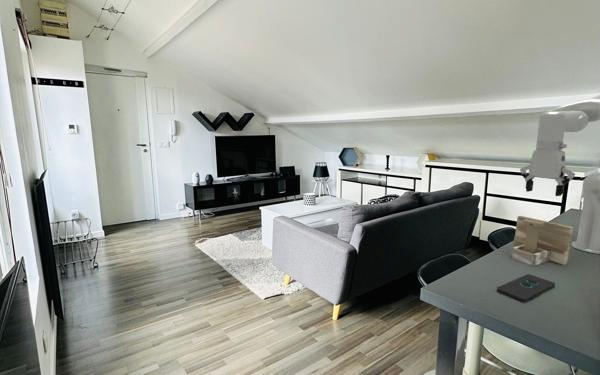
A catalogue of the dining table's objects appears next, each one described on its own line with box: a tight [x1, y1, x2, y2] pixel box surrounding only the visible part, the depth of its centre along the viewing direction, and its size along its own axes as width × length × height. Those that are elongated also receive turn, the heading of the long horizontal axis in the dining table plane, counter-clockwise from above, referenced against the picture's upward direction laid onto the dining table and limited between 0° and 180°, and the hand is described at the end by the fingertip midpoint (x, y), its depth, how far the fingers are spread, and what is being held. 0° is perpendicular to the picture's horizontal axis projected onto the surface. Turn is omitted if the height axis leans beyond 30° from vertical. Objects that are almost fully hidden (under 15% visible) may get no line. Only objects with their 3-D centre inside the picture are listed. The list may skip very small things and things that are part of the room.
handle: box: [523, 219, 544, 254], centre depth 125 cm, size 5×6×15 cm
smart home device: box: [496, 273, 556, 303], centre depth 103 cm, size 8×2×20 cm
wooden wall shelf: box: [509, 215, 574, 267], centre depth 126 cm, size 13×18×14 cm
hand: (543, 193), depth 122 cm, fingers open, 9 cm apart
